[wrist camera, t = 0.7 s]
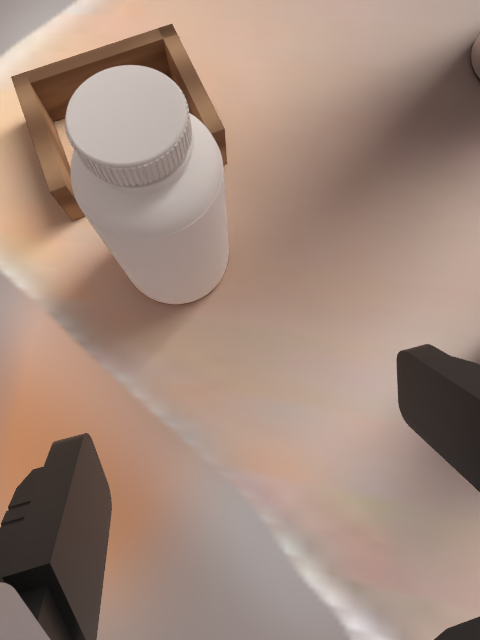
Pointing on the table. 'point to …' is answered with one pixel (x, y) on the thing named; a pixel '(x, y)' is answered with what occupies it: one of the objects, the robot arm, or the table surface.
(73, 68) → the holder
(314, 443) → the table surface
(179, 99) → the pill bottle
